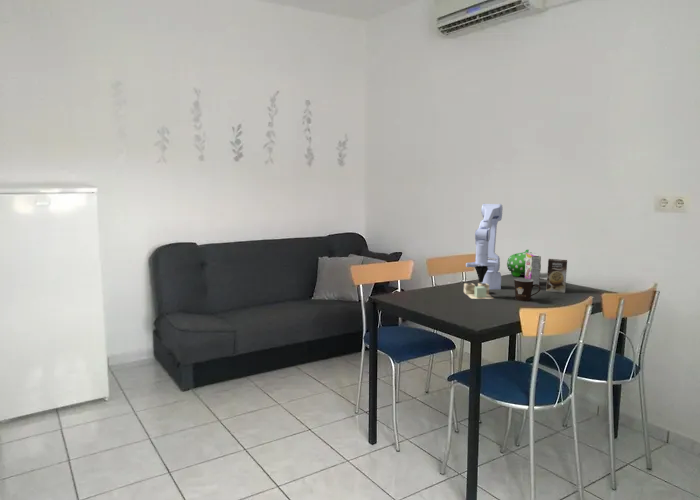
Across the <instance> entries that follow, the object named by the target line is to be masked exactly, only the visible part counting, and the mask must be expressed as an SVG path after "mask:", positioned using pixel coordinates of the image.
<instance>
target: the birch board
mask: <svg viewBox="0 0 700 500" xmlns="http://www.w3.org/2000/svg"><path fill="white" fill-rule="evenodd" d="M466 296H468V298H470V299H472V300H475V299H476V300H482V299H483V300H484V299H486V300H490V299H495V298H494V297H493V296H492V295H490V293H489V294H486V297H476V296H475V295H474V294H466Z"/></svg>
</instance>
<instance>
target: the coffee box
mask: <svg viewBox="0 0 700 500" xmlns="http://www.w3.org/2000/svg"><path fill="white" fill-rule="evenodd" d="M547 260H548V261H547V276H546V287H545V288H546V289H545V290H546V291H545V292H552V293H553V292H554V293H563V294H564V293H566V285H567V271H568V259H559V258H557V259H556V258H548V259H547Z"/></svg>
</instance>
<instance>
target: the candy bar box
mask: <svg viewBox="0 0 700 500" xmlns="http://www.w3.org/2000/svg"><path fill="white" fill-rule="evenodd" d="M541 261H542V256H541V255H539V254H537V253H535V252H532V253H530V252H529V253H526V261H525V276H524V278H527V279H532V280H534V281H533V285H534V284H537V285H539V286H540V285H541V284H540V283H541V281H540V280H541V270H540V265H541V264H542V263H541ZM541 266H542V265H541ZM534 287H537V286H536V285H535V286H534ZM540 287H541V286H540Z"/></svg>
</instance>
